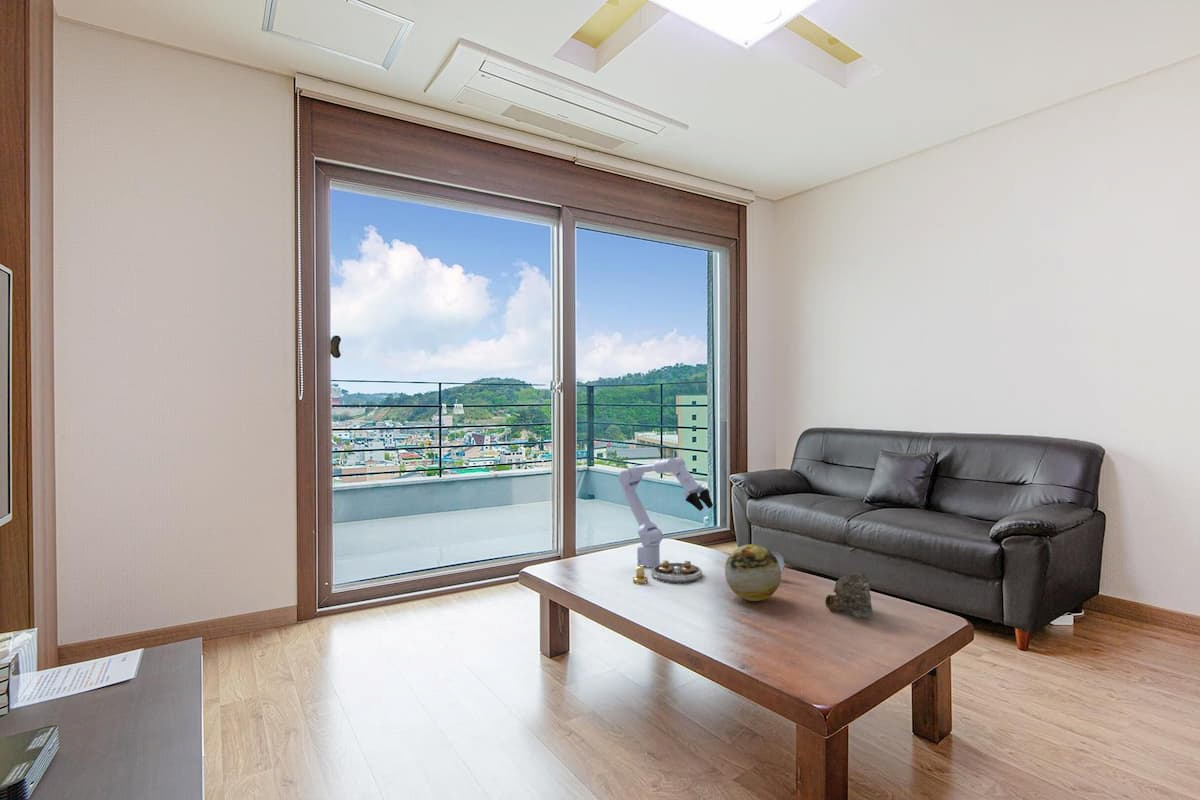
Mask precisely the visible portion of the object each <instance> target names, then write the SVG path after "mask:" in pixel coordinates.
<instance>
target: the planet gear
mask: <svg viewBox="0 0 1200 800" xmlns="http://www.w3.org/2000/svg"><path fill="white" fill-rule="evenodd" d="M635 571H636V572H635V576H633V577H632V583H633V582H636V583H644V584H646V583H645V582H647V583H648V582H649V581H648V577H647V576H645V567H644V566H637V565H636V567H635ZM636 583H635V584H636Z"/></svg>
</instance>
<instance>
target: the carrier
mask: <svg viewBox="0 0 1200 800" xmlns="http://www.w3.org/2000/svg"><path fill="white" fill-rule="evenodd" d="M661 562H662V563H663V564H659V565H656V566H654V567H653V568H652V567H651V577H652V576H653V577H654V578H655V579H657V580H656V581H658V580H660V581H659V582H661V581H664V582H663V583H666V582H669V583H668V584H677V583H681V584H690V583H689V582H691V583H695V582H699V581H700V580H702V578H703V571H702V569H701V567H700V566H698V565H694V564H692V563H691V560H685V561H684V563H683V562H670V561H669V560H663V561H661ZM653 577H652V578H653ZM701 577H702V578H701ZM654 578H653V579H654ZM655 579H654V580H655ZM699 579H700V580H699Z"/></svg>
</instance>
